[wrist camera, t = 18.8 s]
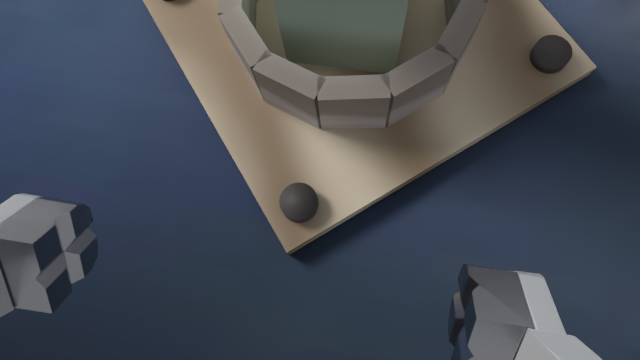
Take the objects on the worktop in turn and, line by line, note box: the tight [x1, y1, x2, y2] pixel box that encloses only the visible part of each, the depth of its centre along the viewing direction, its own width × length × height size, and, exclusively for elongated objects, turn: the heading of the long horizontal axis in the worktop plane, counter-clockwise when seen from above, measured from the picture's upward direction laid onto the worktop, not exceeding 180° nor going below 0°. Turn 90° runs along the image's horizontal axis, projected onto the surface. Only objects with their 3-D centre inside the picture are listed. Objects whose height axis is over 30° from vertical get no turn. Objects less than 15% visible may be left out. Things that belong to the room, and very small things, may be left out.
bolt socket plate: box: [143, 0, 596, 255], centre depth 21 cm, size 16×16×4 cm
